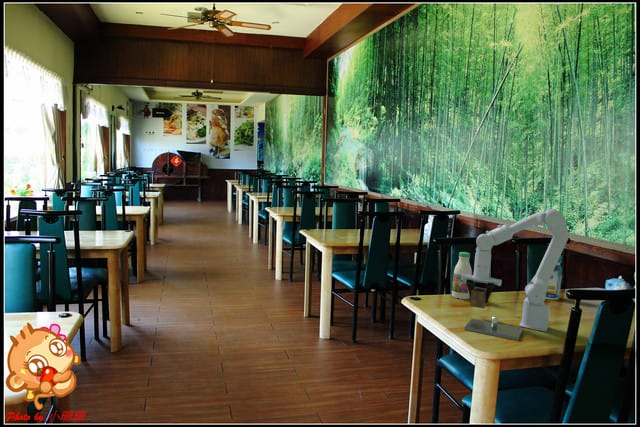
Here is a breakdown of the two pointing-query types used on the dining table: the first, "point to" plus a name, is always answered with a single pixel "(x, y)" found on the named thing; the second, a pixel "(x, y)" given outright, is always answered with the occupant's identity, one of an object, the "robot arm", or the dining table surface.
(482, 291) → the hollow wooden block
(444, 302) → the dining table surface
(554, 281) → the beverage bottle
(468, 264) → the milk bottle
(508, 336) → the plate
